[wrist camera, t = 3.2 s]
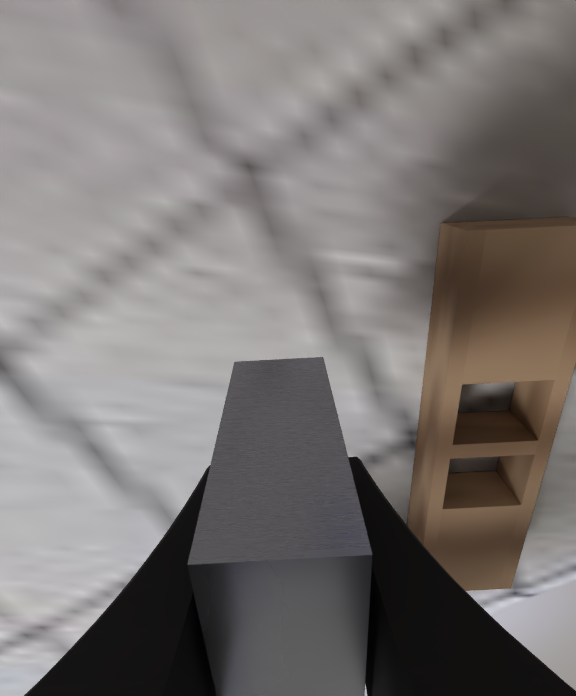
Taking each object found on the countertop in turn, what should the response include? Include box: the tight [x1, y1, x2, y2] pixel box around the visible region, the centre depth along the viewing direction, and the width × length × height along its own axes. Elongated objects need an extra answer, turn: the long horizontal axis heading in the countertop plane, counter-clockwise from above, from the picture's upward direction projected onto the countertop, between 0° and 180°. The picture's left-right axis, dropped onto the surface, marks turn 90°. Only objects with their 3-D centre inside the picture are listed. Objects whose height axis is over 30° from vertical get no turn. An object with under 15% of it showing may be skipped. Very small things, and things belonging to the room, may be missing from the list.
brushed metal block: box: [187, 357, 372, 696], centre depth 9 cm, size 6×2×6 cm, turn 3°
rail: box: [407, 217, 576, 591], centre depth 19 cm, size 20×5×2 cm, turn 2°
